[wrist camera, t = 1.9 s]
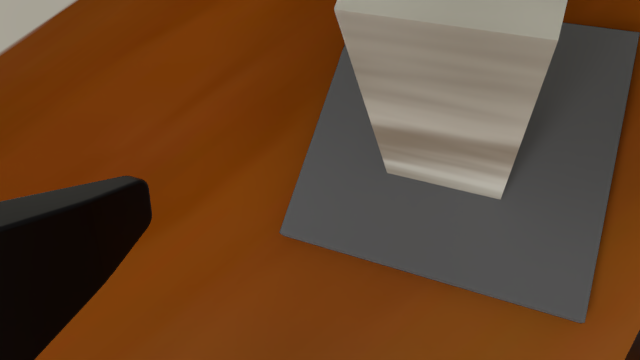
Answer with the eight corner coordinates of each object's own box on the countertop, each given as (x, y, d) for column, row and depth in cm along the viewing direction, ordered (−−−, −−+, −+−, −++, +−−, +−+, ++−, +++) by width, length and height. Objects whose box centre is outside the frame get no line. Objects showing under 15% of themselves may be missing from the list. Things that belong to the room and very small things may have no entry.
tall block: (500, 199, 22) (558, 40, 11) (387, 172, 23) (334, 9, 12) (525, 95, 23) (601, -145, 12) (416, 76, 24) (392, -153, 13)
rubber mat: (580, 323, 20) (584, 322, 19) (283, 235, 24) (279, 232, 23) (635, 40, 23) (639, 32, 23) (363, 3, 27) (361, -4, 27)
